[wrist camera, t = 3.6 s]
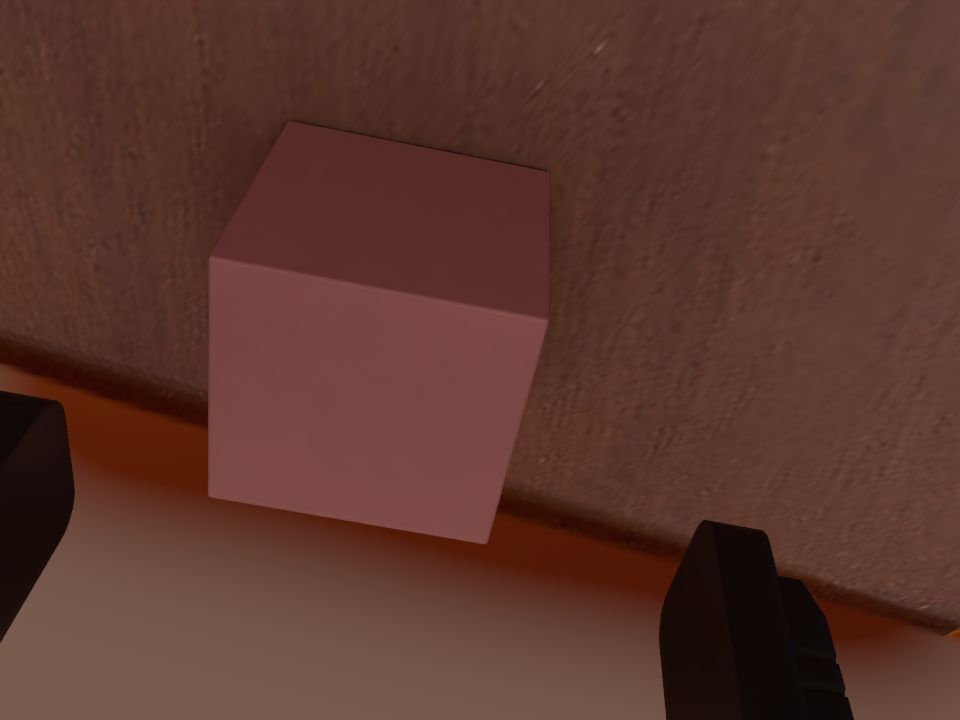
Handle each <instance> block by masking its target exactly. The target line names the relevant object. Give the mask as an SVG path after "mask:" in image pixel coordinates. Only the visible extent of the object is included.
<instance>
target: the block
mask: <svg viewBox="0 0 960 720" xmlns="http://www.w3.org/2000/svg"><path fill="white" fill-rule="evenodd" d="M549 229H550V174H549V172H547V171H542V170H537V169H532V168H527V167H522V166H517V165H512V164H507V163H502V162H497V161H491V160H486V159H481V158H476V157H471V156H466V155H461V154H456V153H451V152H446V151H441V150H435V149H430V148H425V147H420V146H415V145H410V144H405V143H400V142H395V141H390V140H385V139H380V138H374V137H369V136H364V135H359V134H354V133H349V132H344V131H339V130H334V129H329V128H324V127H318V126H313V125H308V124H303V123H298V122H293V121H288V122H287V124H286V125H285V127H284V129H283V131H282V132H281V134H280V136H279V137H278V139H277V141H276V143H275V144H274V146H273V148H272V150H271V151H270V153H269V155H268V156H267V158H266V160H265V162H264V163H263V165H262V167H261V169H260V170H259V172H258V174H257V176H256V177H255V179H254V181H253V182H252V184H251V186H250V188H249V189H248V191H247V193H246V195H245V196H244V198H243V200H242V201H241V203H240V205H239V207H238V208H237V210H236V212H235V214H234V215H233V217H232V219H231V220H230V222H229V224H228V226H227V227H226V229H225V231H224V233H223V234H222V236H221V238H220V239H219V241H218V243H217V245H216V246H215V248H214V250H213V252H212V253H211V255H210V257H209V348H208V495H209V496H210V497H213V498H218V499H224V500H231V501H236V502H242V503H248V504H253V505H260V506H265V507H271V508H277V509H283V510H289V511H294V512H301V513H307V514H312V515H318V516H323V517H329V518H335V519H341V520H347V521H353V522H358V523H364V524H370V525H376V526H382V527H388V528H393V529H400V530H405V531H411V532H417V533H423V534H429V535H434V536H440V537H446V538H452V539H458V540H463V541H469V542H475V543H481V544H486V543H487V541H488V539H489V535H490V532H491V528H492V524H493V521H494V518H495V514H496V510H497V507H498V503H499V500H500V496H501V492H502V489H503V485H504V482H505V478H506V474H507V471H508V467H509V464H510V460H511V456H512V453H513V449H514V446H515V442H516V439H517V435H518V431H519V428H520V424H521V421H522V417H523V413H524V410H525V406H526V403H527V399H528V395H529V392H530V388H531V385H532V381H533V378H534V374H535V370H536V367H537V363H538V360H539V356H540V352H541V349H542V345H543V342H544V338H545V334H546V331H547V327H548V324H549Z"/></svg>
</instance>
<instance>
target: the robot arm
mask: <svg viewBox="0 0 960 720" xmlns="http://www.w3.org/2000/svg"><path fill="white" fill-rule="evenodd" d="M74 491H75V490H74V480H73V472H72V464H71V457H70V449H69V442H68V434H67V426H66V419H65V412H64V409H63V407H62V405H61V403H60V402H58V401H55V400H49V399H44V398H38V397H33V396H27V395H22V394H16V393H10V392H5V391H0V642H1V641H2V639H3V637H4V636H5V634H6V632H7V631H8V629H9V627H10V626H11V624H12V622H13V621H14V619H15V617H16V615H17V614H18V612H19V610H20V608H21V607H22V605H23V603H24V602H25V600H26V598H27V597H28V595H29V593H30V592H31V590H32V588H33V587H34V584H35V583H36V581H37V580H38V578H39V576H40V575H41V573H42V571H43V570H44V568H45V566H46V565H47V563H48V561H49V559H50V557H51V556H52V554H53V553H54V551H55V549H56V547H57V546H58V544H59V542H60V541H61V539H62V537H63V535H64V533H65V531H66V529H67V526H68V523H69V520H70V517H71V513H72V509H73V503H74V495H75V492H74ZM659 644H660V656H661V666H662V677H663V688H664V698H665V710H666V720H854V718H853V715H852V711H851V707H850V703H849V700H848V697H845V685H844V681H843V678H842V674H841V671H840V667H839V664H836V652H835V649H834V645H833V642H832V638H831V634H830V630H829V627H828V623H827V619H826V617H825V615H824V614H823V612H822V611H821V609H820V608H819V606H818V605H817V603H816V602H815V601H814V599H813V598H812V596H811V595H810V593H809V592H808V590H807V589H806V587H805V586H804V585H803V583H802V582H801V580H798V579H792V578H787V577H781V576H777V572H776V567H775V563H774V559H773V554H772V550H771V546H770V542H769V539H768V537H767V535H766V533H765V532H764V531H762V530H758V529H752V528H747V527H741V526H736V525H730V524H724V523H719V522H713V521H708V520H704V521H702V522H701V523H700V524H699V526H698V527H697V529H696V531H695V533H694V535H693V538H692V540H691V542H690V544H689V546H688V548H687V551H686V553H685V555H684V557H683V559H682V561H681V564H680V566H679V568H678V570H677V572H676V575H675V577H674V579H673V581H672V583H671V586H670V588H669V590H668V592H667V595H666V597H665V600H664V604H663V608H662V613H661V620H660V629H659Z"/></svg>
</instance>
